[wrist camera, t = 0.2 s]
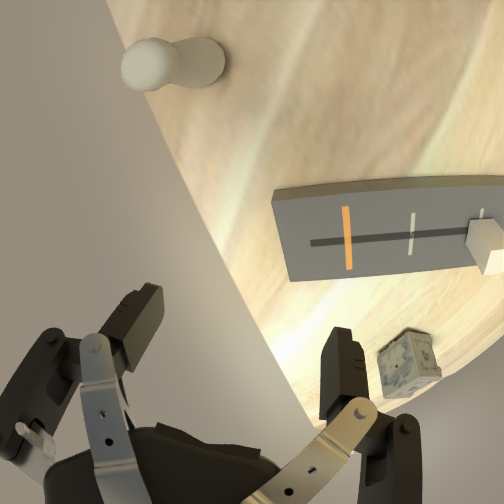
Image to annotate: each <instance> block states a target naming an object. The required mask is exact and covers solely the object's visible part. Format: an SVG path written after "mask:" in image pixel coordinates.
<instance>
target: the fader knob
mask: <svg viewBox="0 0 504 504" xmlns="http://www.w3.org/2000/svg"><path fill="white" fill-rule="evenodd" d="M465 244H466V246H467V247H468V249H469V251H470V253H471V254H472V256H473V258H474V260H475V261H476V263H477V265H478V267H479V269H480V271H481V273H482V275H483V276H486V275H492V274H499V273H504V231H503V230H502V229H501V227H500V226H499V225H498V223H497V222H496V221H495V220H494V219H478V220H470V223H469V228H468V234H467V239H466V243H465Z"/></svg>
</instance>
